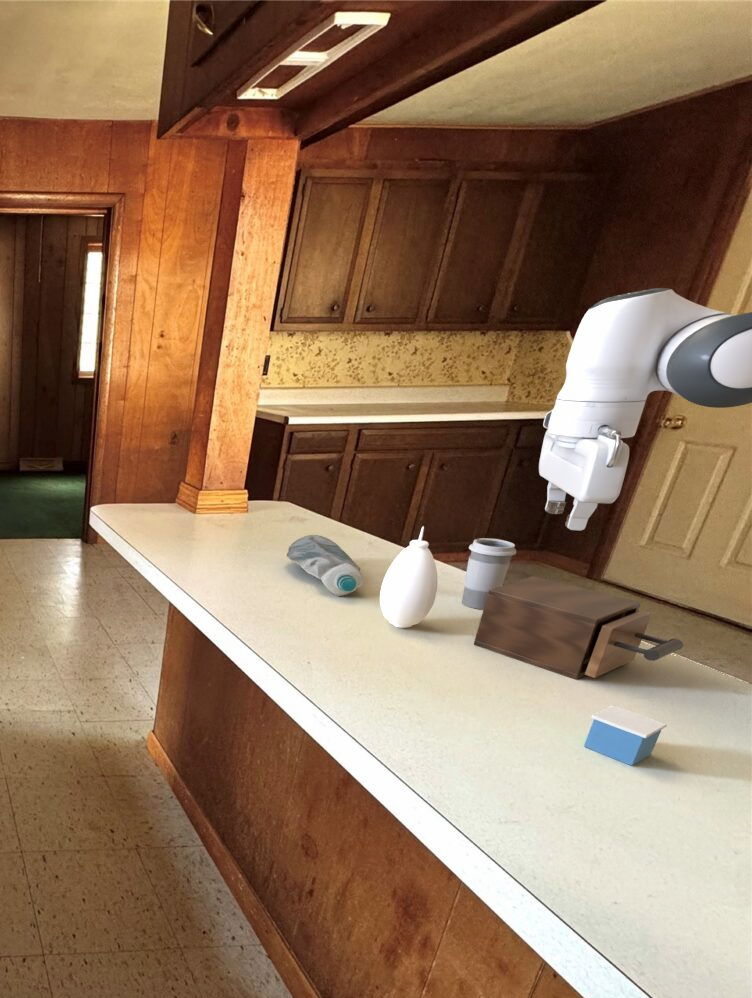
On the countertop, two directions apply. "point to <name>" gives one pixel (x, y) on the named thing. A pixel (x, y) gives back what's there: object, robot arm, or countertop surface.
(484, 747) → the countertop surface
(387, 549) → the countertop surface
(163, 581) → the countertop surface
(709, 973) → the countertop surface
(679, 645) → the drawer
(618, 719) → the plastic tub
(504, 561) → the cup
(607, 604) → the cabinet
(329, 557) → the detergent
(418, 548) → the white air blower bulb
